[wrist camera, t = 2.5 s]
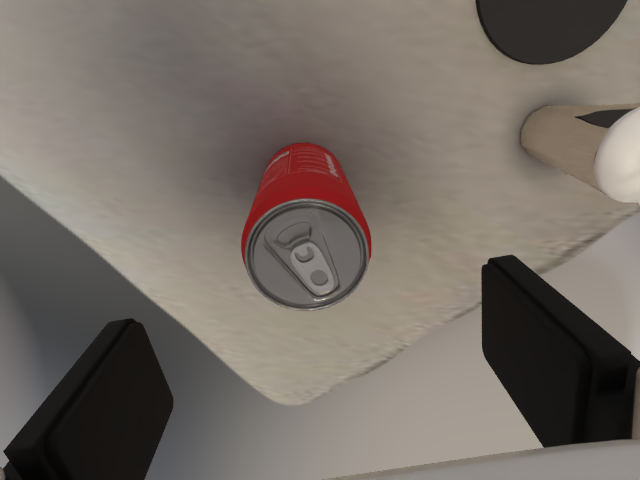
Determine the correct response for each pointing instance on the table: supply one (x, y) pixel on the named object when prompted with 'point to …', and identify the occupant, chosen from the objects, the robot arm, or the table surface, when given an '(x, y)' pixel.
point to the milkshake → (590, 145)
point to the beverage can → (305, 231)
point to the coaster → (546, 26)
